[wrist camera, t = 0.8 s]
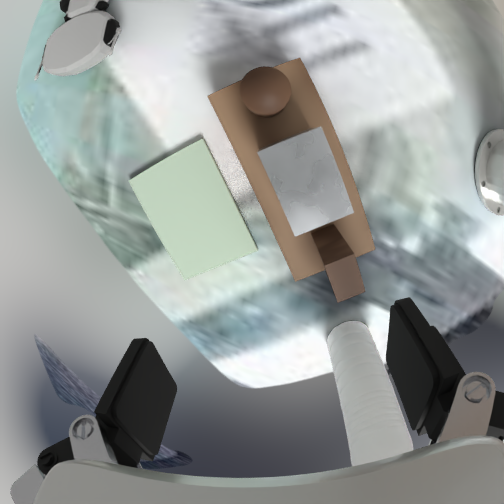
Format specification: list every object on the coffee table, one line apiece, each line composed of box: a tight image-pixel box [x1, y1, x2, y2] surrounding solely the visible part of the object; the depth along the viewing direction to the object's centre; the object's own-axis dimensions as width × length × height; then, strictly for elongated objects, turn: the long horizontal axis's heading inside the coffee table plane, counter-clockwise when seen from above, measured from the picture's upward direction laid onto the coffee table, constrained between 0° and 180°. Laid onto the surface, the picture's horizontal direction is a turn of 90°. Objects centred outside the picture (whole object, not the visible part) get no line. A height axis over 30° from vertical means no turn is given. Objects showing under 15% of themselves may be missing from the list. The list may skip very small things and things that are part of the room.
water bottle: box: [327, 321, 413, 466], centre depth 26 cm, size 9×6×25 cm
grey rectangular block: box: [257, 127, 354, 237], centre depth 22 cm, size 5×7×5 cm
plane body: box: [208, 58, 375, 303], centre depth 24 cm, size 9×20×12 cm, turn 25°
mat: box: [129, 138, 258, 280], centre depth 31 cm, size 10×14×1 cm
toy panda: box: [35, 0, 121, 81], centre depth 20 cm, size 12×4×15 cm
